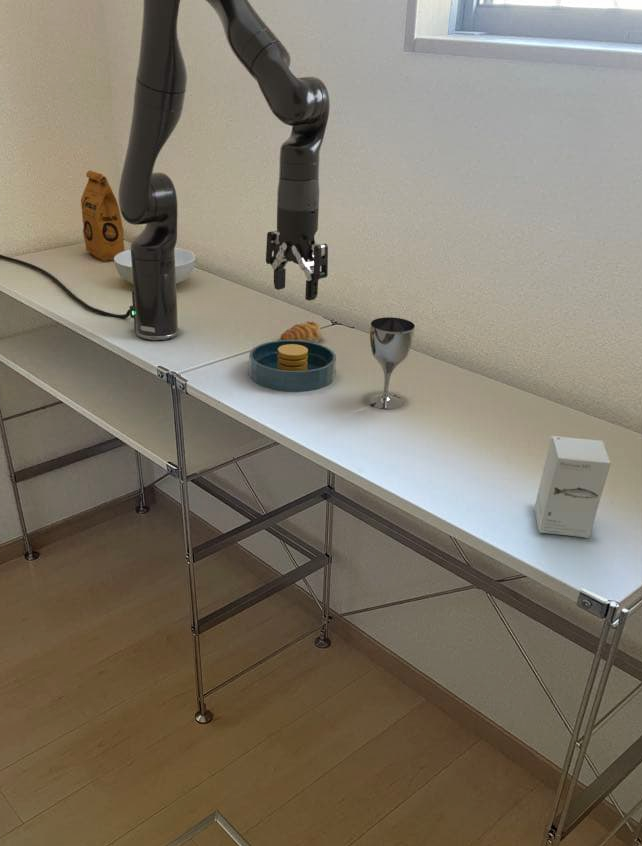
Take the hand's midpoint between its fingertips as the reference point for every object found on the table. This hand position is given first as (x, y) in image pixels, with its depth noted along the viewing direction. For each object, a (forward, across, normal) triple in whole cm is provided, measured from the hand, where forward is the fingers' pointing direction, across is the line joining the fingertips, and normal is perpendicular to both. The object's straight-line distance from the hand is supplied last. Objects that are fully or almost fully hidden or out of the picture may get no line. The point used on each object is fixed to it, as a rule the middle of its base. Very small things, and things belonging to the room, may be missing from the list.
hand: (295, 294), depth 157 cm
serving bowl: (+17, -68, +16) cm, 72 cm away
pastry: (+17, -13, +16) cm, 26 cm away
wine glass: (+17, +20, +6) cm, 27 cm away
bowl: (+17, 0, 0) cm, 17 cm away
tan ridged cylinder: (+16, 0, 0) cm, 16 cm away
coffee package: (+16, -98, +20) cm, 101 cm away
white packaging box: (+17, +66, -8) cm, 69 cm away
